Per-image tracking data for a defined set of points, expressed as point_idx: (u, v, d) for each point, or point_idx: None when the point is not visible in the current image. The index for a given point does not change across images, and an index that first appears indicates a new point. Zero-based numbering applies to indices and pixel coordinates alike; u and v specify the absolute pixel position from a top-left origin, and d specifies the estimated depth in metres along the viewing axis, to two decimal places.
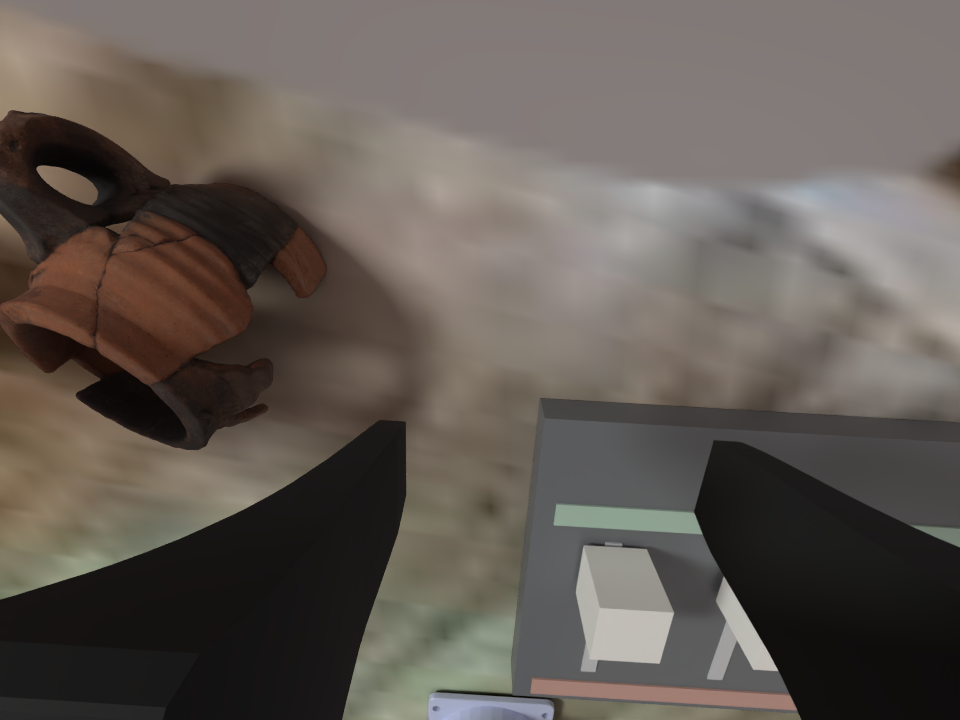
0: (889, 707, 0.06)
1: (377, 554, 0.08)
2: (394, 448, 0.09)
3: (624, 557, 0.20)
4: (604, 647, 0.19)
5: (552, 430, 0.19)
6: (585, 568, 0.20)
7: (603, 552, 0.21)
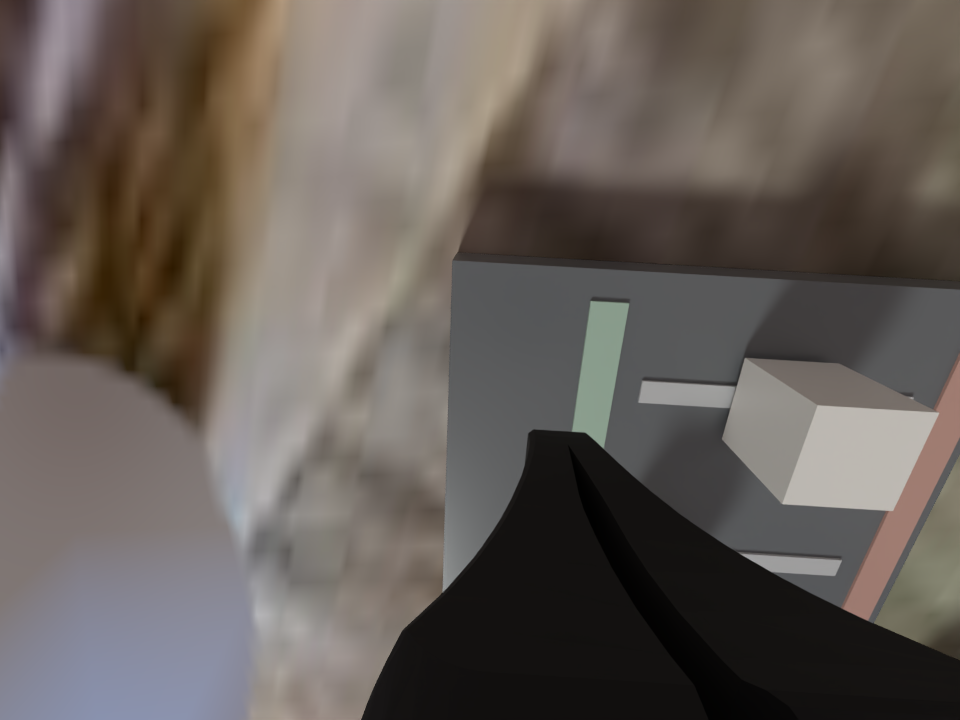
0: None
1: None
2: None
3: None
4: None
5: None
6: None
7: None
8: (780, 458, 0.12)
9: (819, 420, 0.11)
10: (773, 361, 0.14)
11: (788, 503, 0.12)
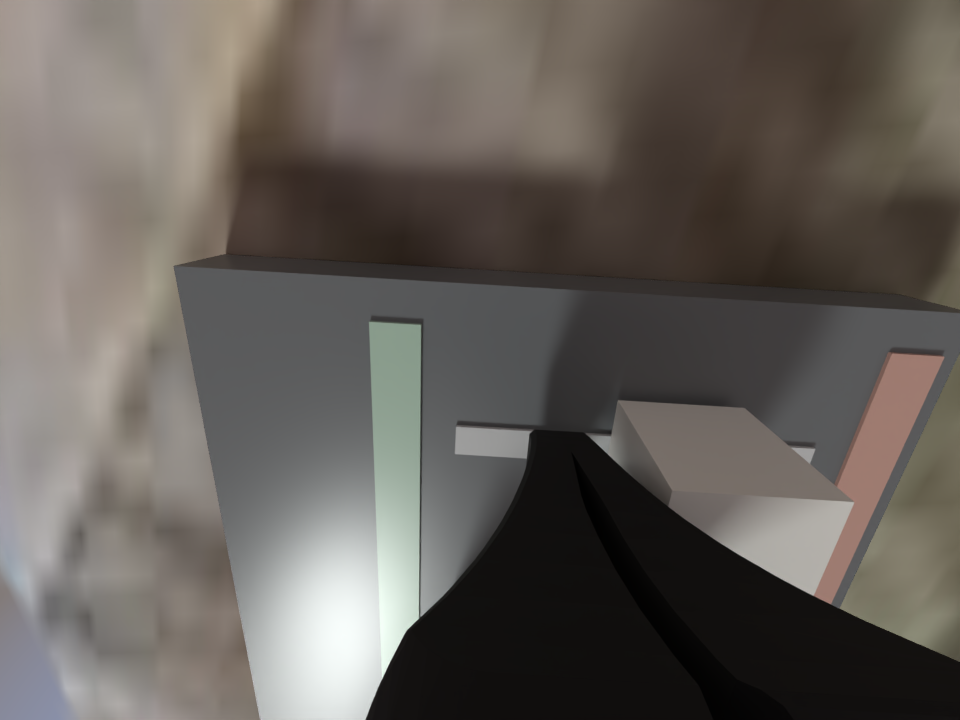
0: None
1: None
2: None
3: None
4: None
5: None
6: None
7: None
8: None
9: (678, 512, 0.07)
10: (654, 406, 0.10)
11: None
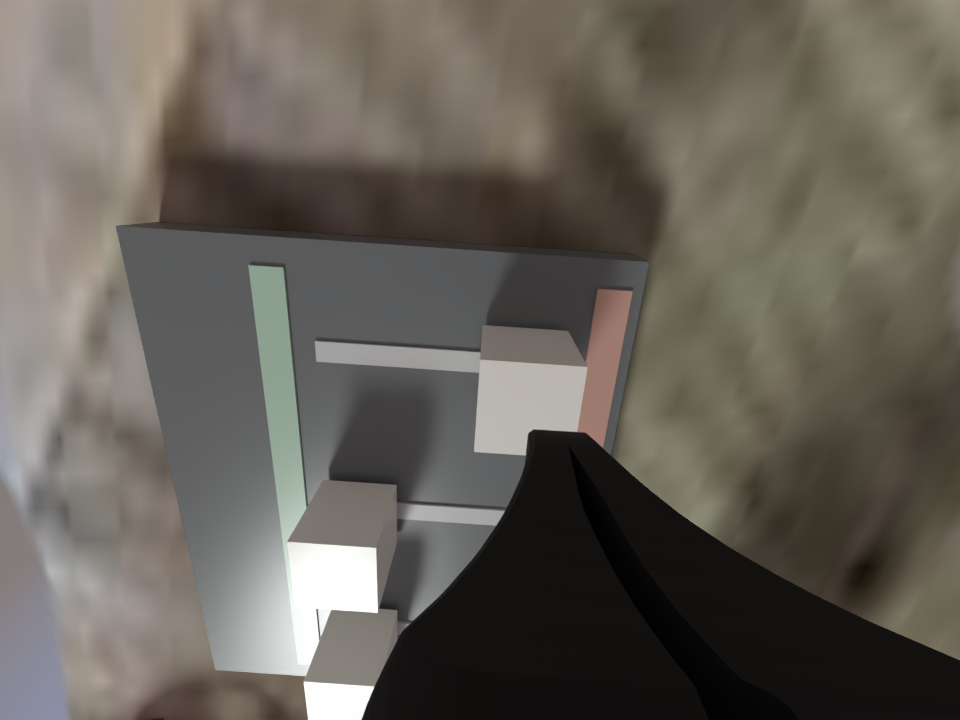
0: None
1: None
2: None
3: None
4: None
5: (225, 665, 0.23)
6: None
7: None
8: None
9: (485, 374, 0.12)
10: (505, 328, 0.15)
11: (479, 451, 0.13)
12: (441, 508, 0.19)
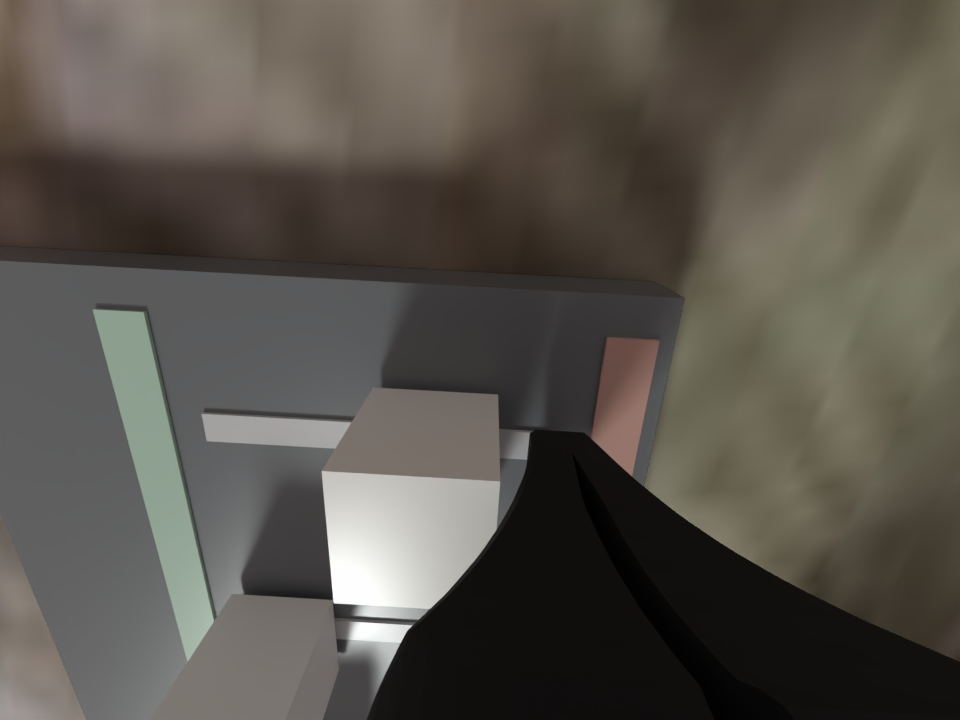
0: None
1: None
2: None
3: None
4: None
5: None
6: None
7: None
8: None
9: (333, 492, 0.08)
10: (403, 392, 0.10)
11: (342, 602, 0.08)
12: (396, 626, 0.14)
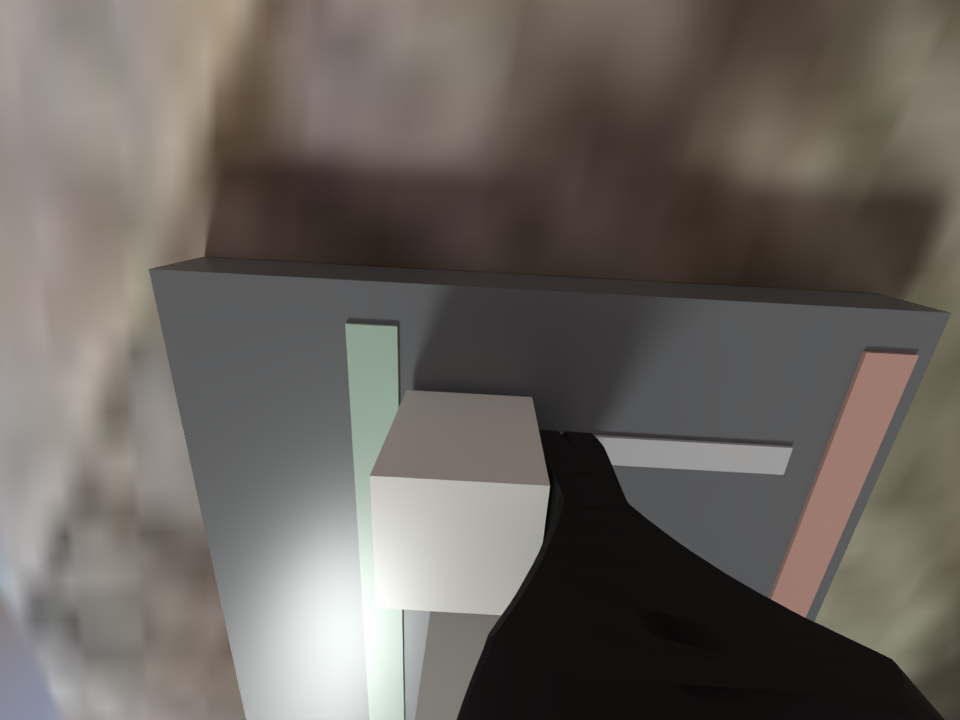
0: None
1: None
2: None
3: None
4: None
5: None
6: None
7: None
8: None
9: (381, 497, 0.07)
10: (438, 395, 0.10)
11: (384, 606, 0.08)
12: None
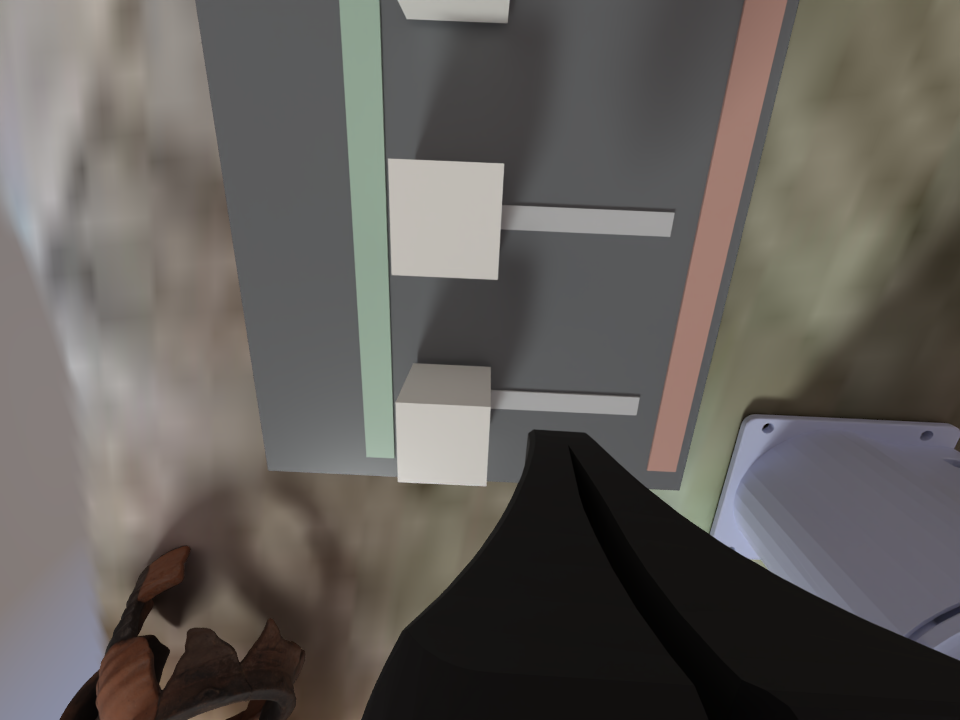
0: None
1: None
2: None
3: None
4: (463, 471, 0.15)
5: (280, 463, 0.19)
6: None
7: None
8: None
9: None
10: None
11: None
12: (552, 209, 0.15)
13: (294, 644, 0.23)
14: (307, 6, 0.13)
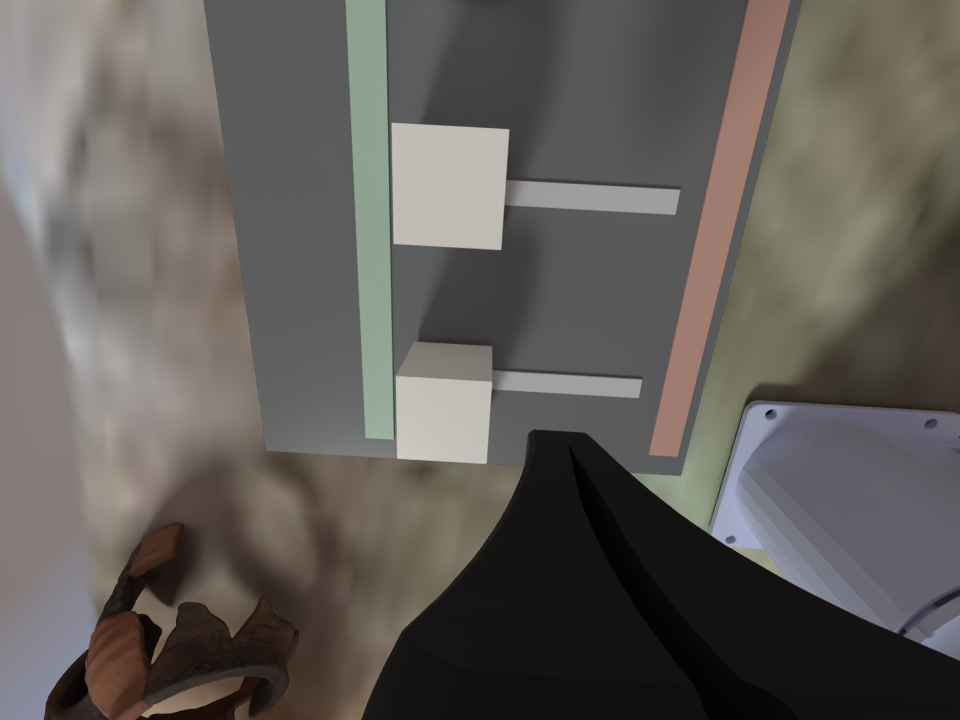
0: None
1: None
2: None
3: None
4: (463, 448, 0.15)
5: (278, 443, 0.19)
6: None
7: None
8: None
9: None
10: None
11: None
12: (556, 185, 0.15)
13: (288, 622, 0.22)
14: None
